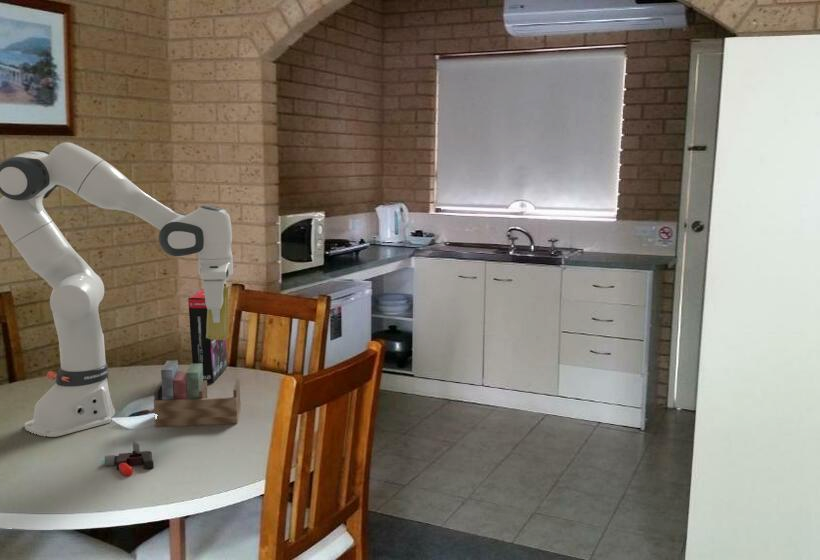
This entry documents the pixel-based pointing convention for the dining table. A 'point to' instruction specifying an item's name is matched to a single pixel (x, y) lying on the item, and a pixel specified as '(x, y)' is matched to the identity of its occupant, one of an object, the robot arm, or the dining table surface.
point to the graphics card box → (205, 340)
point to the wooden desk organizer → (191, 399)
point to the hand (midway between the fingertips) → (217, 319)
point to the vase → (222, 328)
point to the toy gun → (130, 460)
